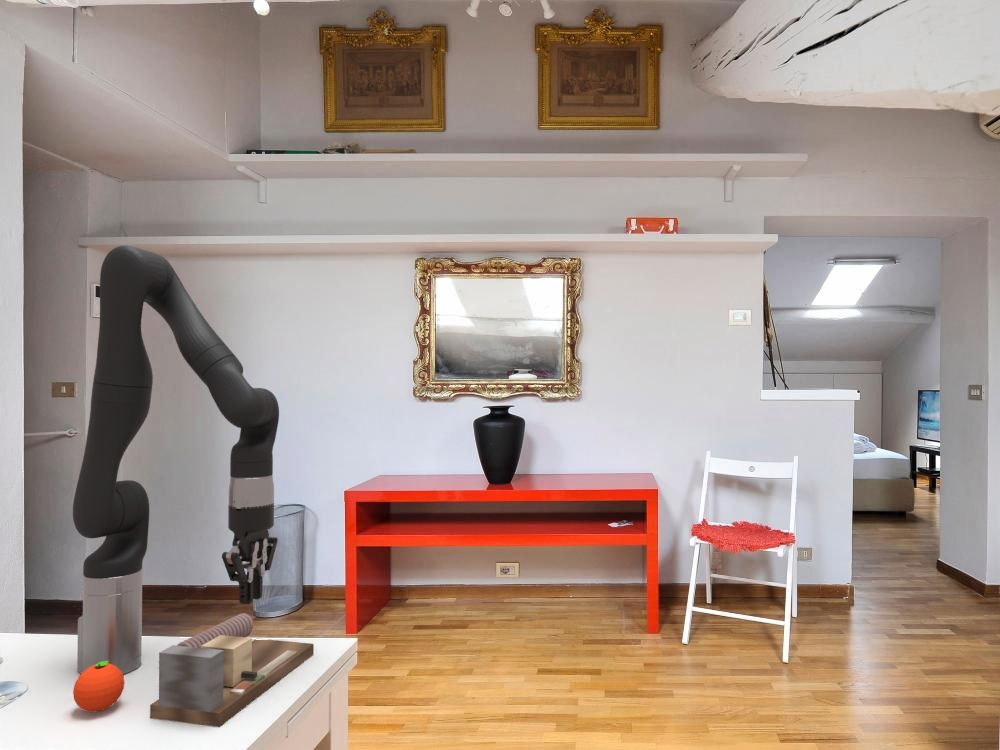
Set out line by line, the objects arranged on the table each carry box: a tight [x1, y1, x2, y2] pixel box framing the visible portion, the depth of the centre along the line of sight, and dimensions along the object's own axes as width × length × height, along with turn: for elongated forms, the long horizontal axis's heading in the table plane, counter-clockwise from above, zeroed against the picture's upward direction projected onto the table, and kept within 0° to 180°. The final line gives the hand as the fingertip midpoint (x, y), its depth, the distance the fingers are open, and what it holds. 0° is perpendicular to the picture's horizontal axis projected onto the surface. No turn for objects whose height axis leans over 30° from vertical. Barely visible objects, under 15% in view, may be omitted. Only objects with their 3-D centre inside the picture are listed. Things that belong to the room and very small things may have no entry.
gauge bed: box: [149, 638, 315, 728], centre depth 115 cm, size 12×28×10 cm, turn 167°
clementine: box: [72, 661, 125, 713], centre depth 106 cm, size 8×7×7 cm
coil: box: [176, 612, 254, 648], centre depth 129 cm, size 5×5×18 cm
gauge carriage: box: [201, 635, 257, 687], centre depth 109 cm, size 8×8×6 cm
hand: (250, 600), depth 118 cm, fingers closed
